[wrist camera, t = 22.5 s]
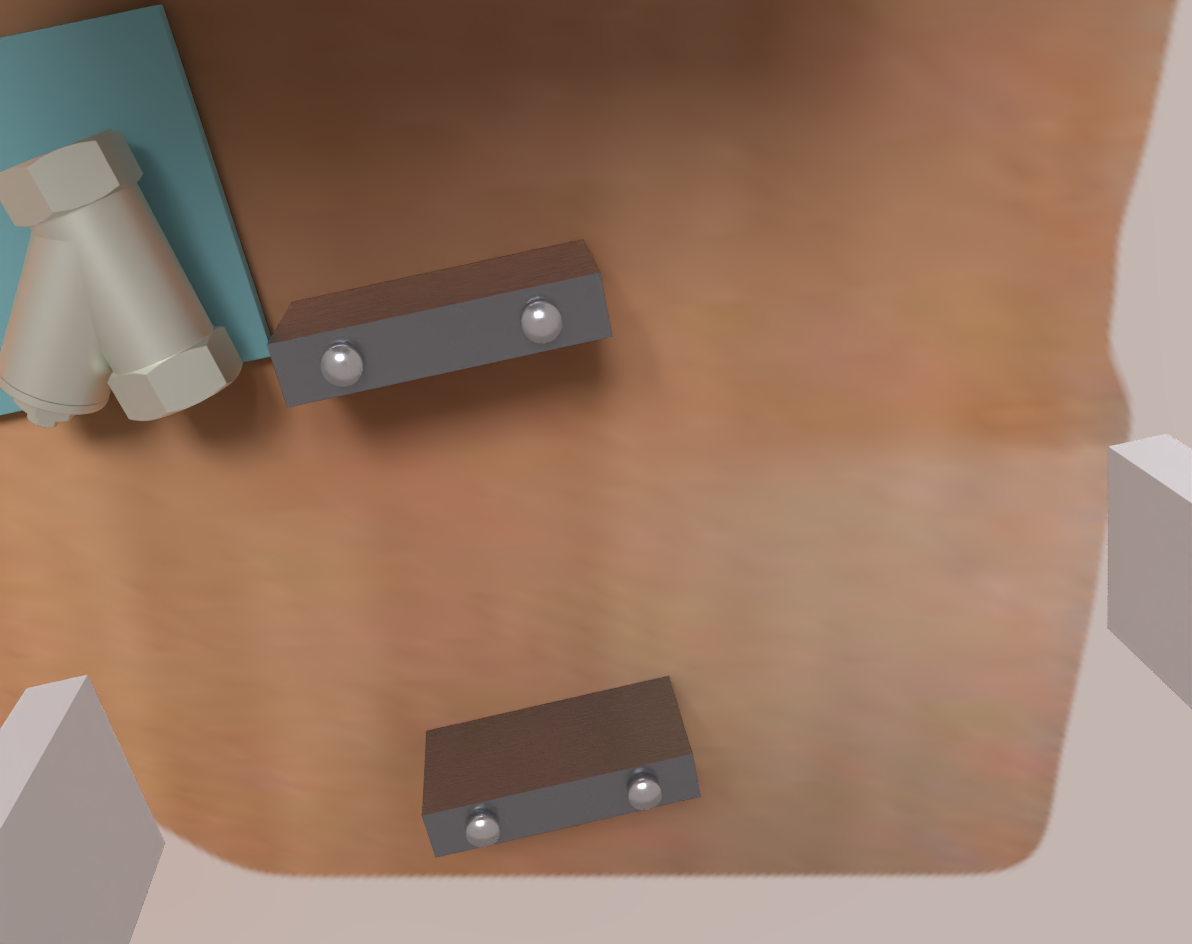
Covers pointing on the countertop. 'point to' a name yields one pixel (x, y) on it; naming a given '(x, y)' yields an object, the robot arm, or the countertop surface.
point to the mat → (156, 138)
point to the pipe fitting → (102, 295)
